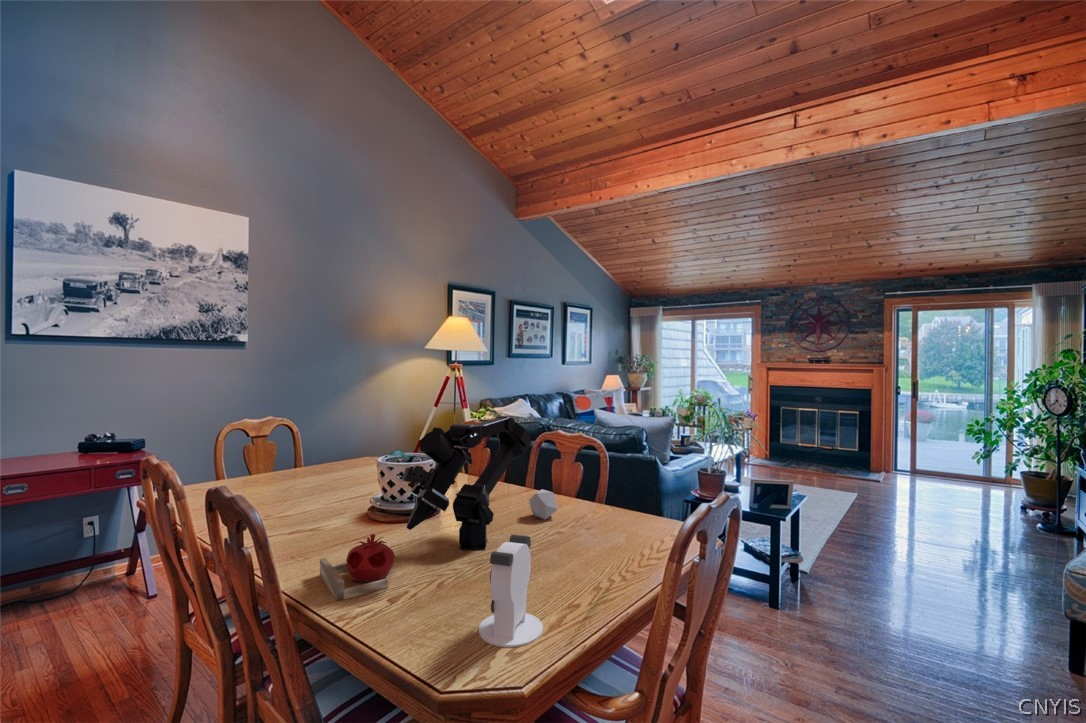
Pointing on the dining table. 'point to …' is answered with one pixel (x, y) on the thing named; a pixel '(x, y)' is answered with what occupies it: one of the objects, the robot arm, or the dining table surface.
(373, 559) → the pomegranate
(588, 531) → the dining table surface
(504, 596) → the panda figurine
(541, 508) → the die
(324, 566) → the cradle
